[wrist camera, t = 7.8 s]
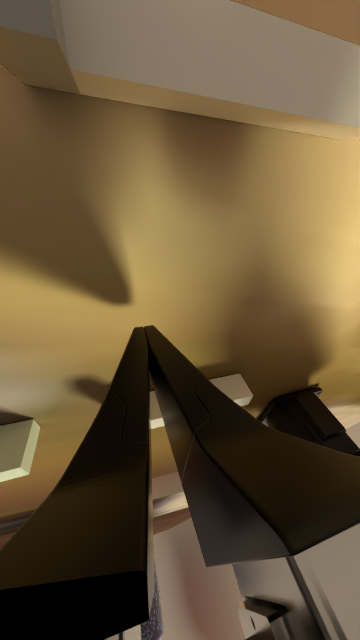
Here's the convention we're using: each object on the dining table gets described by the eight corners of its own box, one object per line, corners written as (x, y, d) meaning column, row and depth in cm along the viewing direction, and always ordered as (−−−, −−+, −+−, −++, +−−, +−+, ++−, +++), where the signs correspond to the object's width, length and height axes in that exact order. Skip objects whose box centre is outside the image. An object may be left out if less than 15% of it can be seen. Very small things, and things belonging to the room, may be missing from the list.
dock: (235, 382, 17) (257, 419, 14) (111, 409, 14) (112, 460, 12) (361, 91, 7) (504, 55, 4) (1, -6, 4) (-155, -245, 2)
